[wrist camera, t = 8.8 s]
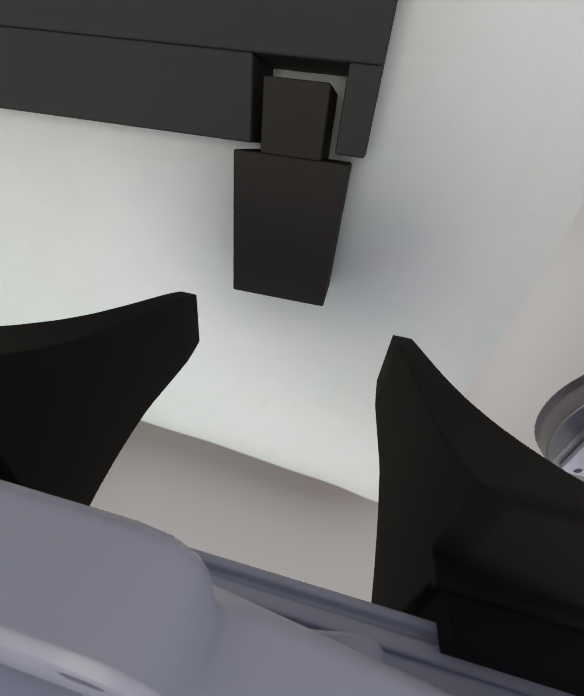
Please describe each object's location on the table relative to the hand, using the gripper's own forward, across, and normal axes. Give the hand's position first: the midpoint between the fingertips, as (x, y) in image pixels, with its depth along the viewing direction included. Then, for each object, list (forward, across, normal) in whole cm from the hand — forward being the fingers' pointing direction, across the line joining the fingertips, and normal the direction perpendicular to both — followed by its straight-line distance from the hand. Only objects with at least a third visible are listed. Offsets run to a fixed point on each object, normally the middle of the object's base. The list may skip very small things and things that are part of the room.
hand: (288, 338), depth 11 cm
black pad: (+9, +2, -3) cm, 9 cm away
